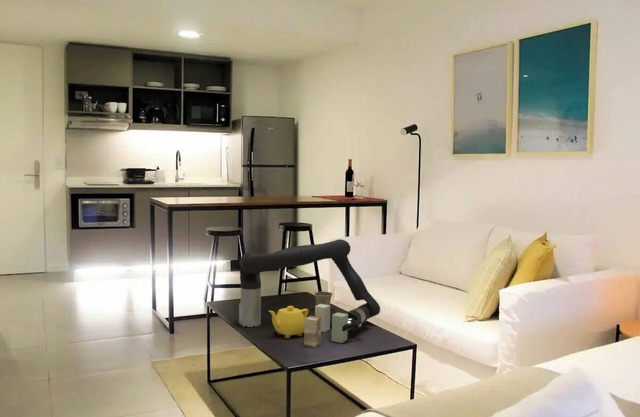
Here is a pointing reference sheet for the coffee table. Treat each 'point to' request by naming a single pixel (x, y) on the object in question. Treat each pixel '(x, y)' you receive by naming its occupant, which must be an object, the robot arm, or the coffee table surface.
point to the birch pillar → (312, 331)
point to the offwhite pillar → (323, 316)
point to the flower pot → (323, 298)
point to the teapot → (289, 321)
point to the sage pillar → (339, 327)
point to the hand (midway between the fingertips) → (337, 327)
